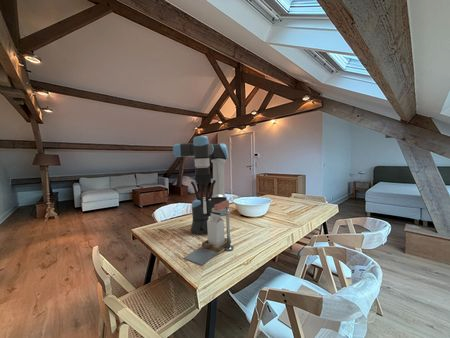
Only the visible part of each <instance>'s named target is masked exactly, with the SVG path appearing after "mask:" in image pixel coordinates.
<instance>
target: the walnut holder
mask: <svg viewBox="0 0 450 338" xmlns="http://www.w3.org/2000/svg"><path fill="white" fill-rule="evenodd" d="M230 243H231V244H232V239H231V238H230ZM225 246H227V237H225V242H224V243H223V244H221V245H220V246H214V245H211V244H208V239H206V240H205V241H203V242H202V243H201V247H202V248H205V249H208V250H211V251H214V252H217V253H220V252H222V251H223V250H225Z"/></svg>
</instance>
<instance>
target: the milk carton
mask: <svg viewBox="0 0 450 338" xmlns="http://www.w3.org/2000/svg"><path fill="white" fill-rule="evenodd" d="M224 222H225V221H224V219H223V218H222V217H220V215H217V214H212V213H211V216H209V219H208V221H207V229H208V233H207V240H208V244H211V245H214V246H220V245H221V244H223V243H224V242H225V238H226V237H225V223H224Z"/></svg>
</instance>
